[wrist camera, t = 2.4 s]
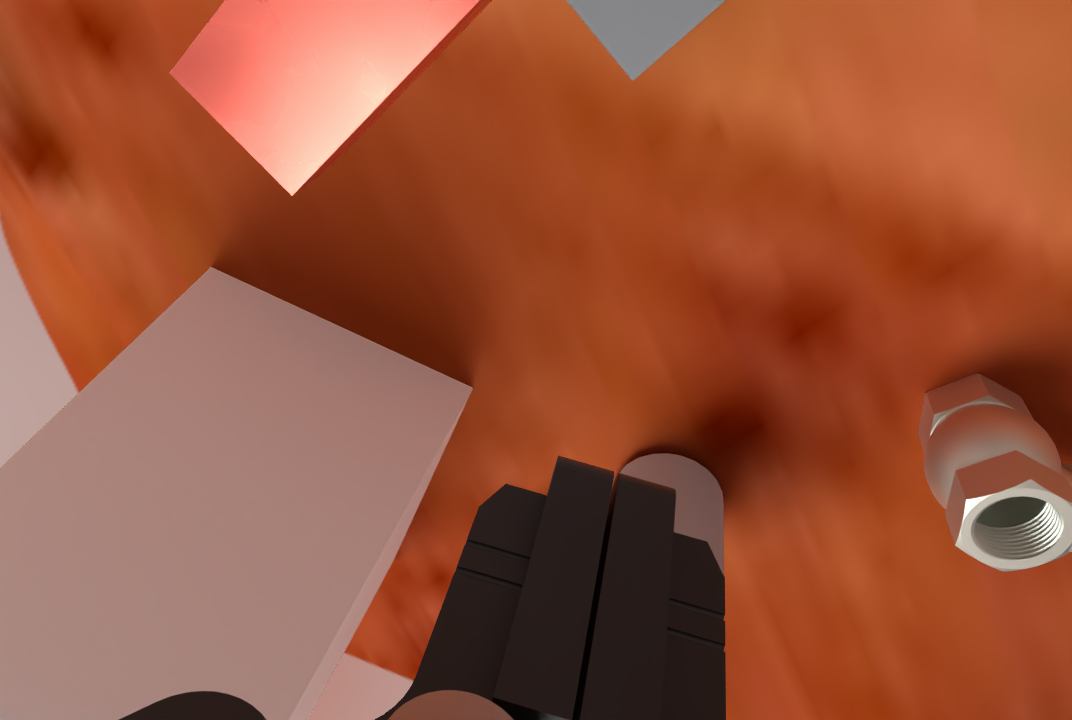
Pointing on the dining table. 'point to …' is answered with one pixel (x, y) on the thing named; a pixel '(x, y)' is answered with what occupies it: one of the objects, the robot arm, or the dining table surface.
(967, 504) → the valve
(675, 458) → the beverage can
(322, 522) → the milk
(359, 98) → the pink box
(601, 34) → the pipe manifold
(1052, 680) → the dining table surface
